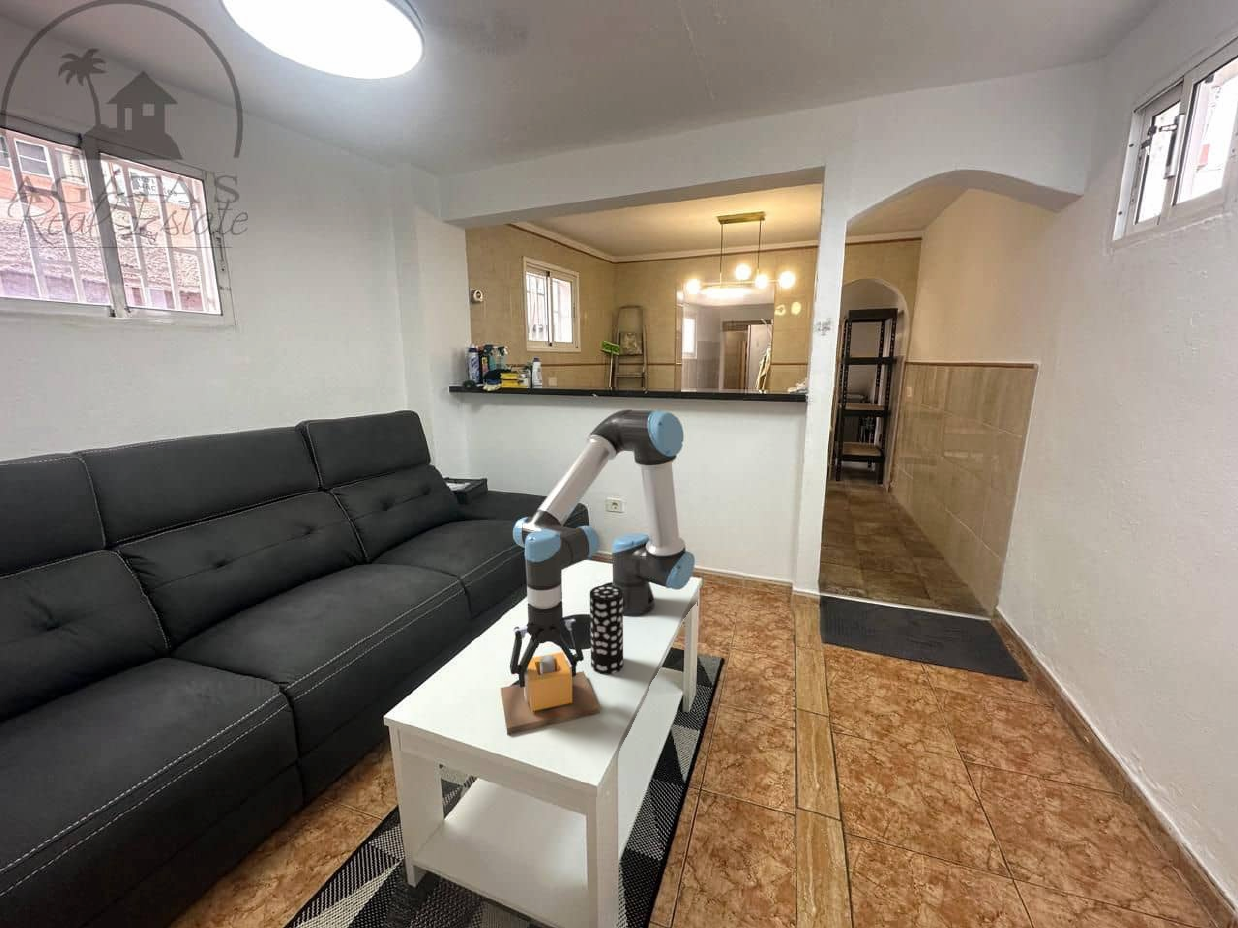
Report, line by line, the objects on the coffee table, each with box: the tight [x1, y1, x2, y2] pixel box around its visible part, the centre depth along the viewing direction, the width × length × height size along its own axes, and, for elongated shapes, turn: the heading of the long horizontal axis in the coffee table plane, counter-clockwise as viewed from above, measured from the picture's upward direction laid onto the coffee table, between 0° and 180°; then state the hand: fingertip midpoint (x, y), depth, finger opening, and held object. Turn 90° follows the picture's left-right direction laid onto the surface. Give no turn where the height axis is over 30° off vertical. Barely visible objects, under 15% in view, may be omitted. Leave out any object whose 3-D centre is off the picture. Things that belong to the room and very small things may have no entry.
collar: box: [527, 651, 572, 711], centre depth 110 cm, size 9×9×7 cm
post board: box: [500, 654, 600, 736], centre depth 110 cm, size 20×14×11 cm
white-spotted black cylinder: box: [589, 584, 624, 675], centre depth 124 cm, size 8×8×20 cm
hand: (548, 693), depth 111 cm, fingers closed on collar, 9 cm apart
